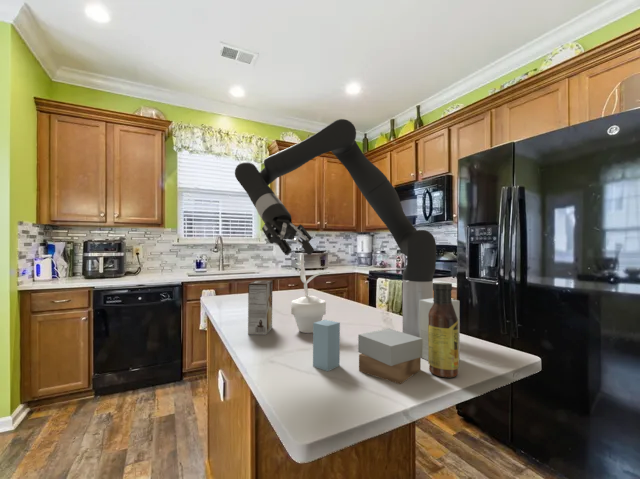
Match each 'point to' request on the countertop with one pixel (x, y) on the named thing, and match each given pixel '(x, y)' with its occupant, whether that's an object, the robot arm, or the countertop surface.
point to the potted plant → (307, 305)
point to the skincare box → (424, 321)
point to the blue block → (326, 344)
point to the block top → (390, 346)
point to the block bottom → (389, 369)
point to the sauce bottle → (443, 333)
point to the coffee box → (259, 307)
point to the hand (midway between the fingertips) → (300, 252)
